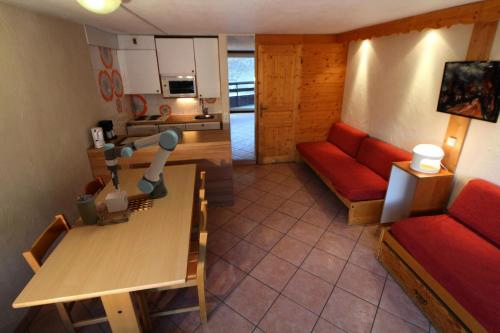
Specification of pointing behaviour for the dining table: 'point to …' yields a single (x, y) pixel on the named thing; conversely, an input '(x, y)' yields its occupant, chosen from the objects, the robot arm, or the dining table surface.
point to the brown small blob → (100, 206)
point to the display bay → (113, 221)
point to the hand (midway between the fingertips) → (118, 192)
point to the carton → (116, 201)
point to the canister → (87, 209)
